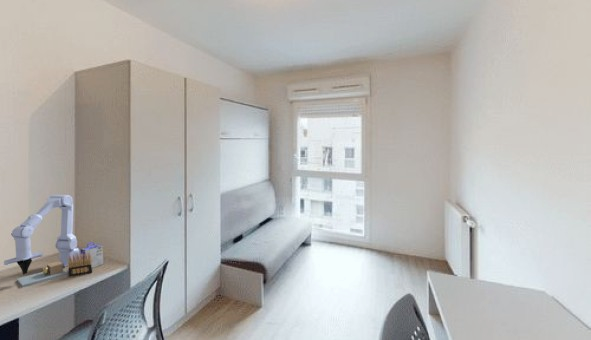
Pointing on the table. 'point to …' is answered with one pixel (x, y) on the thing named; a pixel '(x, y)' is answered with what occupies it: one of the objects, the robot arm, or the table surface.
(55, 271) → the mounting board
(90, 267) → the ammunition clip
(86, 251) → the ink cartridge box
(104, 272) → the table surface
